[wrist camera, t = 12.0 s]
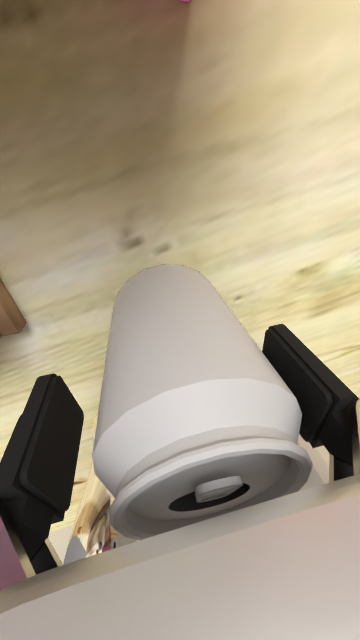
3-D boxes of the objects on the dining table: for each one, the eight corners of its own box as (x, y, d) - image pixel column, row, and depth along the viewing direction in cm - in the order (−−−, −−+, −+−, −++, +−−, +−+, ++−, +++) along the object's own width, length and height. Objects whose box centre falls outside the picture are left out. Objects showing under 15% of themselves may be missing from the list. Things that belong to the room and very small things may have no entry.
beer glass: (84, 439, 23) (30, 743, 11) (93, 395, 20) (29, 758, 7) (149, 439, 25) (166, 691, 13) (167, 399, 22) (212, 686, 10)
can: (123, 354, 18) (113, 572, 8) (103, 264, 14) (32, 485, 4) (212, 341, 19) (300, 522, 9) (218, 254, 15) (390, 411, 5)
